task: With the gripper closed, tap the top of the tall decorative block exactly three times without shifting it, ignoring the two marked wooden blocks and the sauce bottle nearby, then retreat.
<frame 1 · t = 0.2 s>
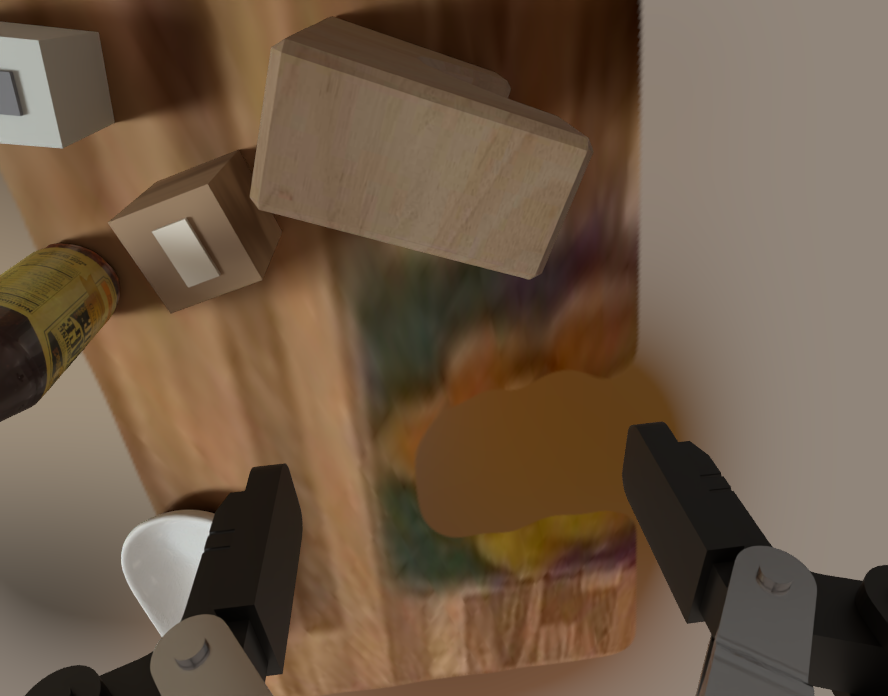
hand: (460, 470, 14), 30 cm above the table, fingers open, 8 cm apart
decorative block: (404, 90, 37), on the table
spoon rest: (212, 571, 59), on the table
sauce bottle: (81, 276, 41), on the table
grey marked block: (44, 72, 34), on the table
walnut marked block: (221, 207, 39), on the table
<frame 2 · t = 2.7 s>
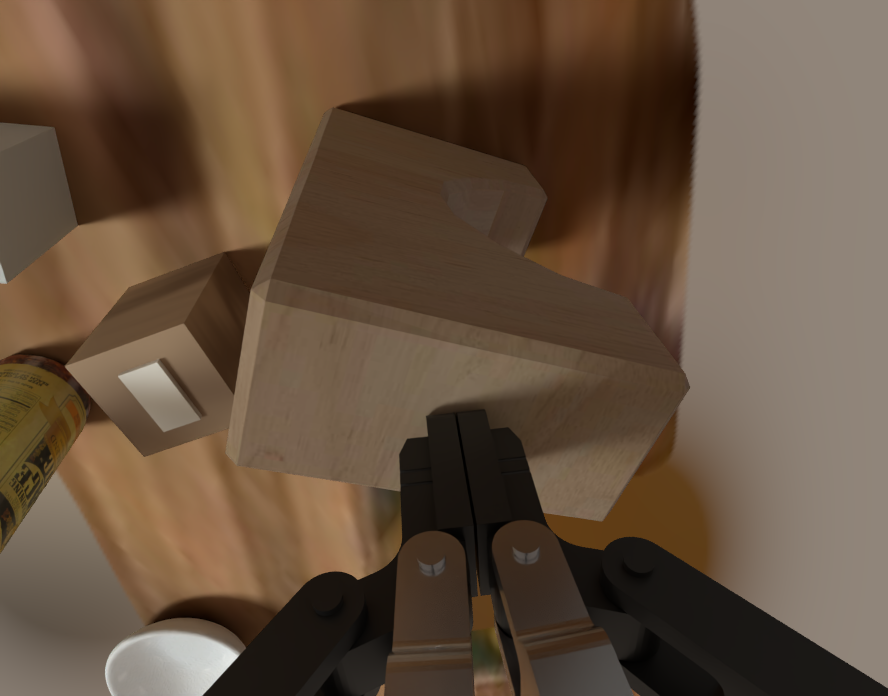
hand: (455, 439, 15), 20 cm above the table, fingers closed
decorative block: (417, 185, 31), on the table, touching gripper
spoon rest: (206, 670, 54), on the table
sauce bottle: (46, 386, 36), on the table
walnut marked block: (205, 312, 34), on the table
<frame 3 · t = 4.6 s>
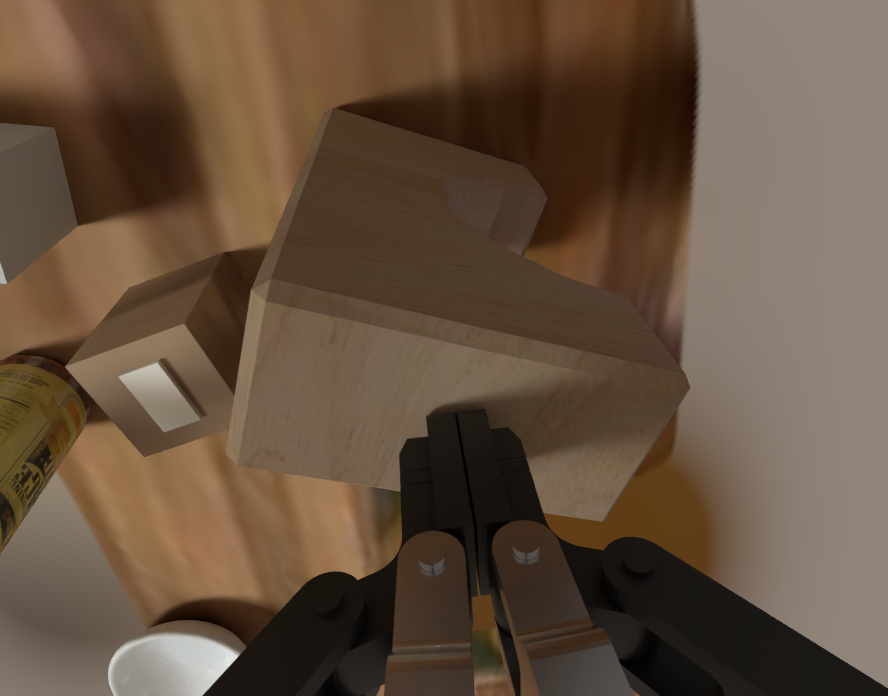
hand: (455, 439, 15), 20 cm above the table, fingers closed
decorative block: (417, 186, 31), on the table, touching gripper
spoon rest: (210, 672, 55), on the table
sauce bottle: (46, 386, 36), on the table
walnut marked block: (205, 313, 34), on the table
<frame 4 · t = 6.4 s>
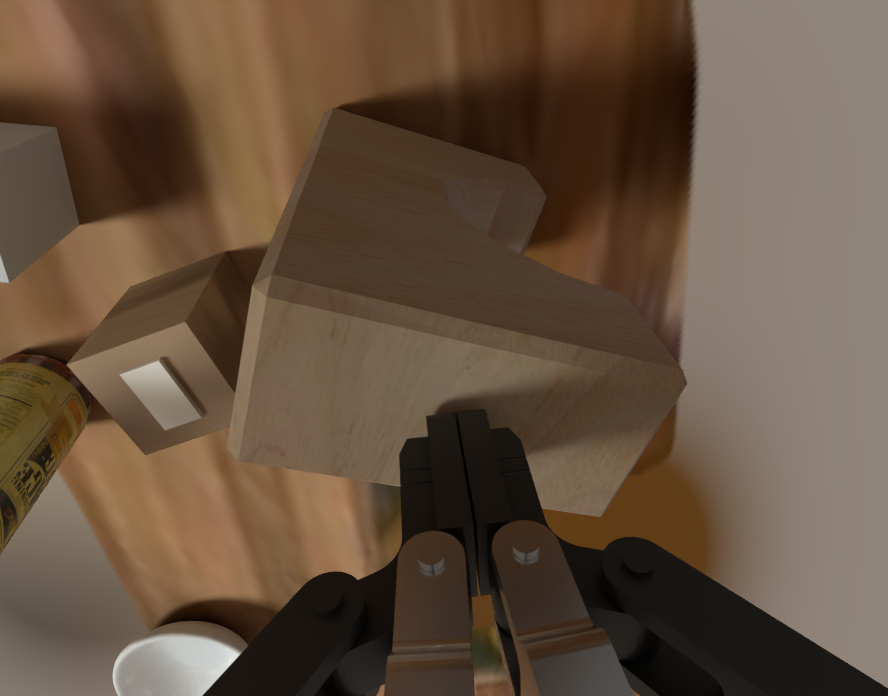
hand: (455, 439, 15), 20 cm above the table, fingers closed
decorative block: (417, 185, 32), on the table
spoon rest: (212, 673, 55), on the table
sauce bottle: (47, 385, 36), on the table
walnut marked block: (206, 312, 34), on the table
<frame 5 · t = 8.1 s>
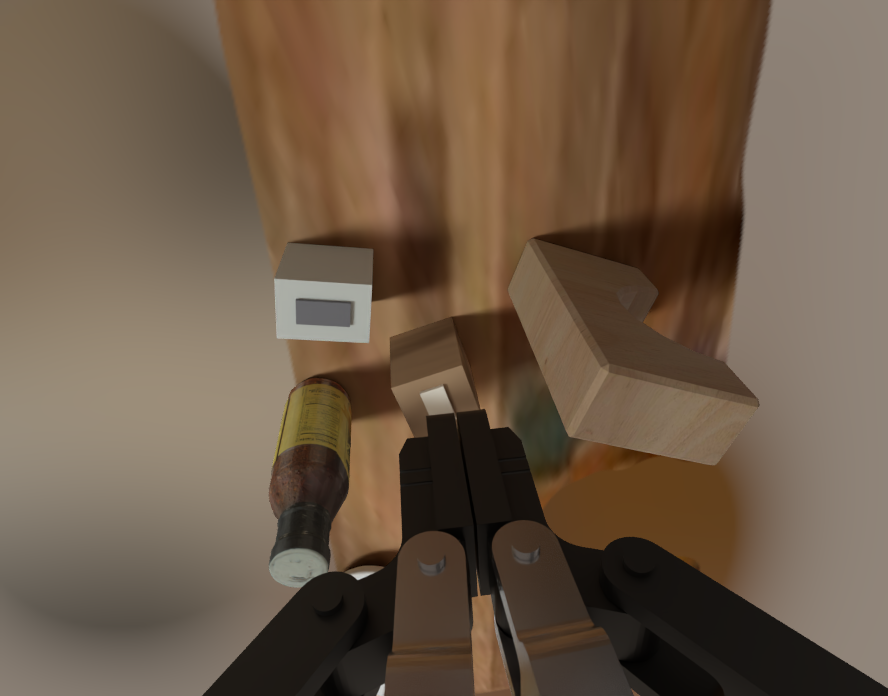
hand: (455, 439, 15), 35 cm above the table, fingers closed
decorative block: (572, 278, 52), on the table
spoon rest: (372, 608, 75), on the table
sauce bottle: (321, 397, 56), on the table
grey marked block: (330, 273, 49), on the table
walnut marked block: (431, 352, 54), on the table
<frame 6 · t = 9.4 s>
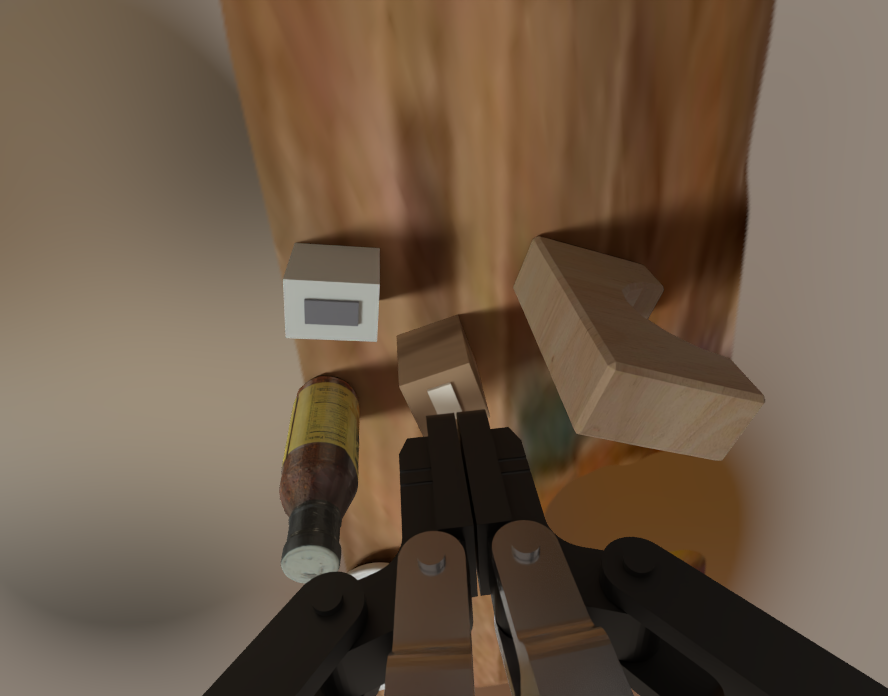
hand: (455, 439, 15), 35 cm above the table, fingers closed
decorative block: (577, 275, 52), on the table
spoon rest: (382, 604, 76), on the table
sauce bottle: (329, 395, 57), on the table
grey marked block: (337, 272, 50), on the table
walnut marked block: (437, 350, 55), on the table
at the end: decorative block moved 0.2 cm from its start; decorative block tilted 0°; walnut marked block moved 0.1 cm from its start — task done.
